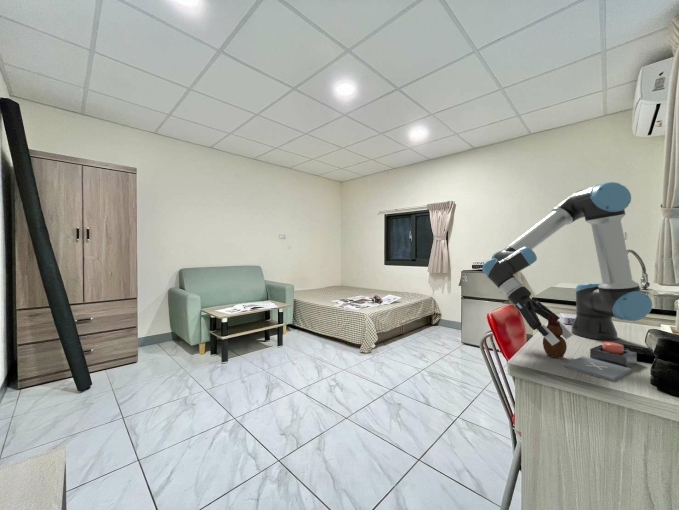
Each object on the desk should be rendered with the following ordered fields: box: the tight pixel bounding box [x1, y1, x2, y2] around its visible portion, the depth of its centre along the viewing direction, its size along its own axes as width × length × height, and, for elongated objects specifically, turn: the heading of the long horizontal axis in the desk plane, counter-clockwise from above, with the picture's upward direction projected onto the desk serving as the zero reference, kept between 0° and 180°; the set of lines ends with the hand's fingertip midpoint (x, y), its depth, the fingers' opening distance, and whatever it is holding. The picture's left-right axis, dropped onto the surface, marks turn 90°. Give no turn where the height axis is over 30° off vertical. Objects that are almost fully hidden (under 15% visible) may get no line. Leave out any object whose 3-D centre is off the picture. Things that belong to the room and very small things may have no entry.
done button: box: [602, 341, 625, 355], centre depth 94 cm, size 5×5×3 cm
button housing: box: [589, 344, 638, 368], centre depth 94 cm, size 9×9×4 cm
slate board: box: [562, 355, 632, 382], centre depth 88 cm, size 14×12×1 cm
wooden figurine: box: [542, 313, 567, 359], centre depth 98 cm, size 7×6×15 cm
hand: (563, 340), depth 96 cm, fingers open, 12 cm apart
